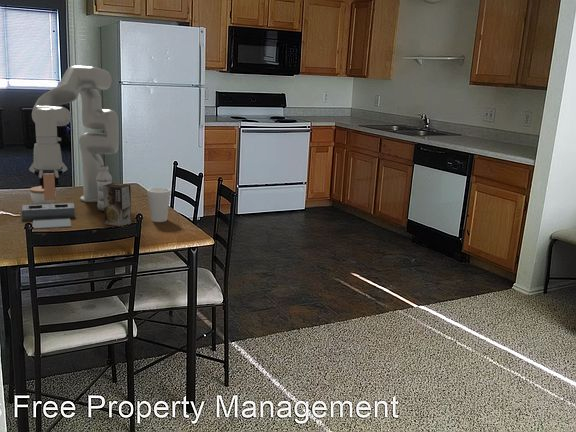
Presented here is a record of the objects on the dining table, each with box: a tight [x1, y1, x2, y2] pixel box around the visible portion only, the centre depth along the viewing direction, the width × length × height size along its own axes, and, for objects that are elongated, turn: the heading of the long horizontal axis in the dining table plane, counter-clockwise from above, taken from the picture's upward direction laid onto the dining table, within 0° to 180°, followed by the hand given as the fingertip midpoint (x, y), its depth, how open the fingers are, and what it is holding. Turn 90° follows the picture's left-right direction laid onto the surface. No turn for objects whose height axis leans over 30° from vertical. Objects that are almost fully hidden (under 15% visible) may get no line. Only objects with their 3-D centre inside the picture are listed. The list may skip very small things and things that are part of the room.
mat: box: [32, 217, 72, 230], centre depth 228 cm, size 14×12×1 cm
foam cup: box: [146, 187, 172, 223], centre depth 240 cm, size 10×9×13 cm
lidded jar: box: [29, 185, 57, 205], centre depth 254 cm, size 11×11×9 cm
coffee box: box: [103, 182, 132, 227], centre depth 231 cm, size 9×6×16 cm
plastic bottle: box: [96, 164, 113, 212], centre depth 249 cm, size 6×7×20 cm
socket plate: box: [21, 202, 76, 221], centre depth 239 cm, size 20×9×4 cm, turn 112°
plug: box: [42, 173, 56, 201], centre depth 224 cm, size 4×4×10 cm
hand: (49, 186), depth 224 cm, fingers closed on plug, 4 cm apart
